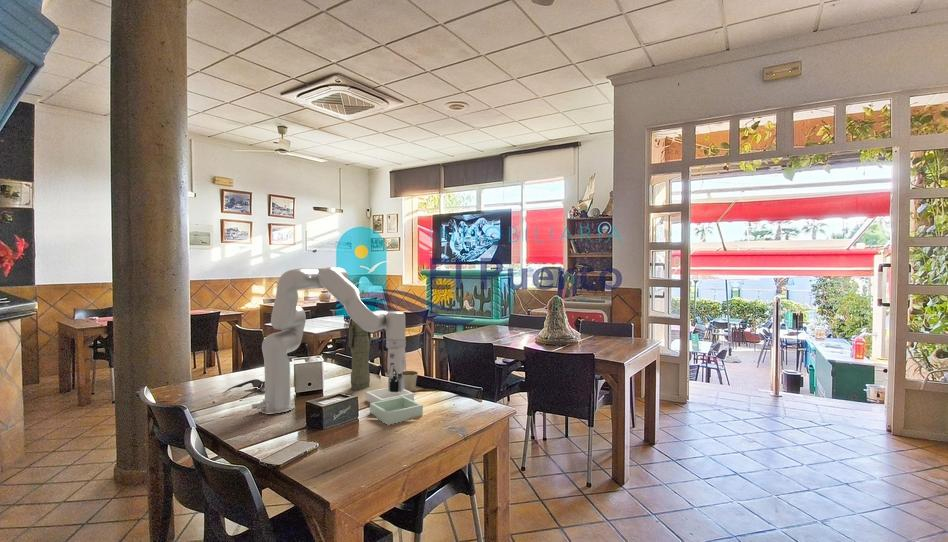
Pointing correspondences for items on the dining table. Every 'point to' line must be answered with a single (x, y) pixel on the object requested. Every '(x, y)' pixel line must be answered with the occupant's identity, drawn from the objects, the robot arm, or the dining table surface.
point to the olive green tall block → (359, 356)
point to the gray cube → (400, 382)
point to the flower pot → (410, 380)
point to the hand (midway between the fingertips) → (396, 389)
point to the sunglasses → (255, 384)
